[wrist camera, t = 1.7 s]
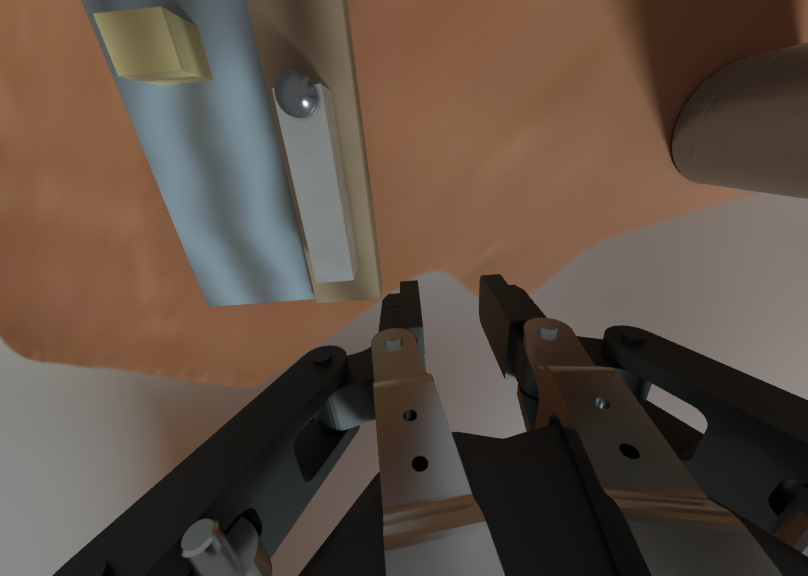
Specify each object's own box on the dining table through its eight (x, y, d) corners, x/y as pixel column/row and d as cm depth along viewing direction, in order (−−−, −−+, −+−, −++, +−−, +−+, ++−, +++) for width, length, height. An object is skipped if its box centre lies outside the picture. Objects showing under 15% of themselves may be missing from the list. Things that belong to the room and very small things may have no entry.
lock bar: (285, 83, 21) (264, 72, 18) (329, 78, 21) (315, 67, 18) (324, 268, 27) (314, 286, 24) (358, 266, 27) (352, 283, 23)
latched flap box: (342, -34, 21) (324, -89, 16) (382, 284, 31) (378, 312, 26) (100, -9, 21) (9, -53, 16) (219, 297, 32) (185, 326, 27)
